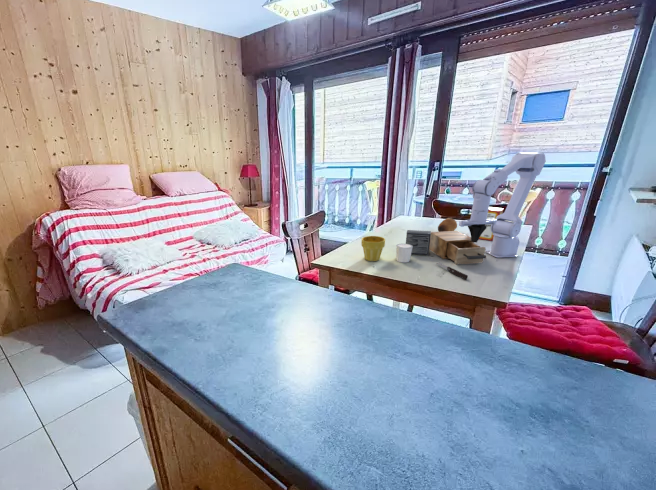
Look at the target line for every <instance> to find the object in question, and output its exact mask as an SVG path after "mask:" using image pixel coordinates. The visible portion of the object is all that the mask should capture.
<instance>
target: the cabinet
mask: <svg viewBox="0 0 656 490" xmlns="http://www.w3.org/2000/svg"><path fill="white" fill-rule="evenodd" d="M464 241H470V242H472V241H471V236H468V235H466V234H464V233H463V232H460V231H459V230H454V231H443V232H439V231H431V237H430V246H429V251H431V252H432V253H433V254H435V255H437V256H438V257H440V258H441V259H442V260H451V259H450V258H448V257H447V256H445V255H446V249H447V242H464ZM472 243H474V244H475V242H472Z"/></svg>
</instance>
